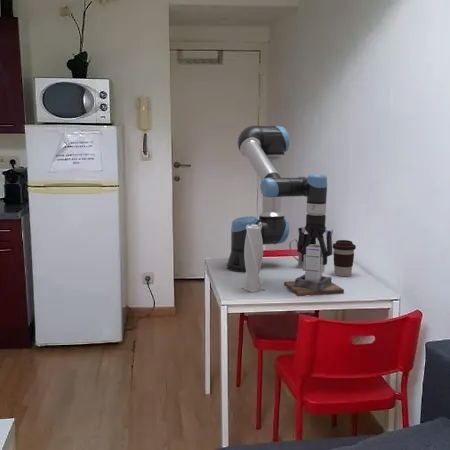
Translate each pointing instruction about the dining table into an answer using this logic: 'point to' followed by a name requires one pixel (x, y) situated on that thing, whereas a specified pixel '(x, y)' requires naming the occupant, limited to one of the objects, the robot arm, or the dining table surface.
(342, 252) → the coffee cup
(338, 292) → the socket board
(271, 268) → the dining table surface
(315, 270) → the syrup box
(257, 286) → the skyscraper
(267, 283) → the dining table surface
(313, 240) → the glass holder
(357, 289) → the dining table surface
